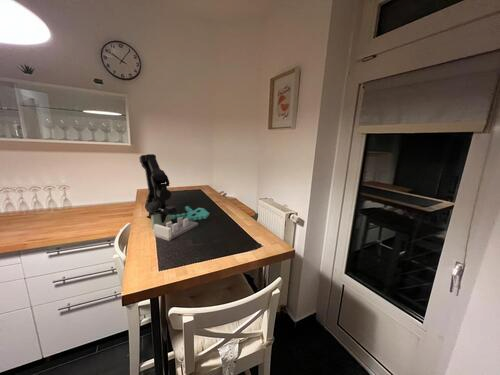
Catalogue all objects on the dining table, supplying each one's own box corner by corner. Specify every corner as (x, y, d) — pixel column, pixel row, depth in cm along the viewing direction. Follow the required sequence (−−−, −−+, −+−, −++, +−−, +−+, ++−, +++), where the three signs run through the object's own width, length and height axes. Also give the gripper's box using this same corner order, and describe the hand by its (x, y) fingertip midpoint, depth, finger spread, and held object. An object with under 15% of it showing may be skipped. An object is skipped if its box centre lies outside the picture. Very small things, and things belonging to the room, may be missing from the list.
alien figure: (170, 219, 129) (200, 223, 125) (170, 216, 129) (200, 220, 125) (186, 209, 148) (213, 212, 144) (186, 206, 148) (213, 209, 144)
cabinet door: (151, 229, 114) (150, 215, 112) (168, 221, 124) (168, 209, 123) (155, 230, 113) (154, 216, 111) (172, 222, 123) (171, 209, 122)
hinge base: (154, 236, 106) (153, 225, 105) (184, 221, 126) (184, 212, 124) (169, 240, 102) (168, 229, 101) (198, 225, 122) (198, 215, 120)
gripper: (135, 196, 111) (137, 223, 115) (160, 202, 104) (162, 231, 107) (152, 192, 121) (154, 217, 125) (177, 197, 114) (178, 223, 117)
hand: (161, 222), depth 118 cm, fingers closed on cabinet door, 2 cm apart
